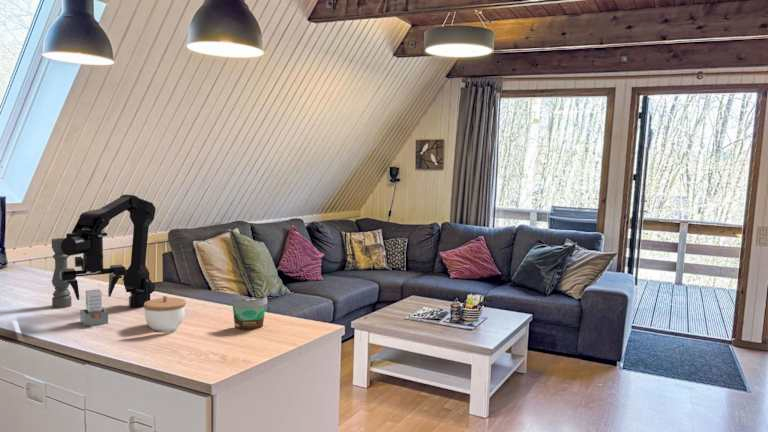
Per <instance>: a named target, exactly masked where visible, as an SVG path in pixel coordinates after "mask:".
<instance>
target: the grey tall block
mask: <svg viewBox="0 0 768 432" xmlns="http://www.w3.org/2000/svg"><path fill="white" fill-rule="evenodd" d="M102 294H103V291H102V290H100V289H99V288H97V289H89V290H85V309H86V314H90V313H98V312H102V307H103V300H102V299H103V295H102Z"/></svg>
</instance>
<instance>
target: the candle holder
mask: <svg viewBox="0 0 768 432" xmlns="http://www.w3.org/2000/svg"><path fill="white" fill-rule="evenodd" d="M65 238H66V237H65ZM65 238H64V237H63V238H61V237H59V238H58V237H57V238H52V239H51V249H52V251H53V253H54V254H53V255H52V258H53V259H54V271H53V275H52V279H51V284H52V286H53V287H54V291H53V293H52V295H53V296H52V297H51V298H52V299H51V304H52V305H51V307H52V308H53V309H65V308H69V307H71V306H72V296H71V291H69V286H71V284H70V283H66V281H62V280H61V279H60V276H59V272H60V270H61V269H69V268H68V258H69V257H70V256H68V255H65V254H64V253H63V252H62V250H61V244H62V241H63V240H64V239H65Z"/></svg>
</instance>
